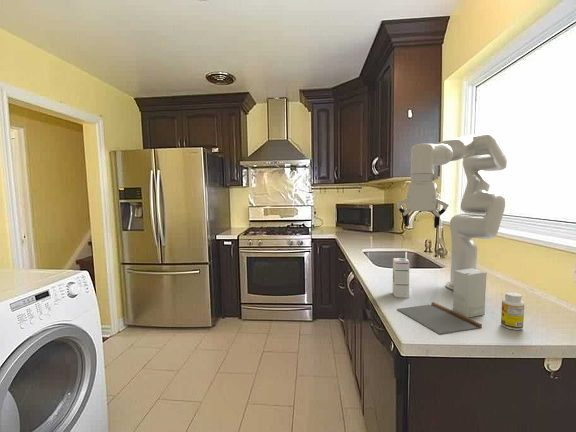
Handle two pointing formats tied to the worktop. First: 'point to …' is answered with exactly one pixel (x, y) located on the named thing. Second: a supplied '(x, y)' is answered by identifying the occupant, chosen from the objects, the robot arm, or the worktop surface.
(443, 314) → the mat
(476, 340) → the worktop surface
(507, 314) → the supplement bottle
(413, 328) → the worktop surface
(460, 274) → the skincare box
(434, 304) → the rail
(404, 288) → the syrup box
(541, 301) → the worktop surface
